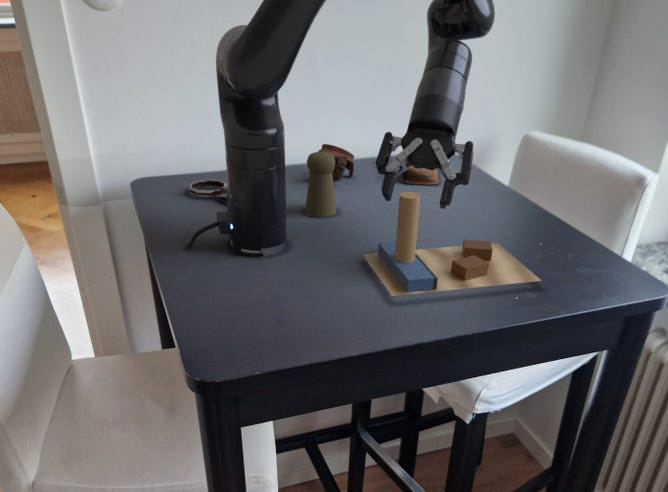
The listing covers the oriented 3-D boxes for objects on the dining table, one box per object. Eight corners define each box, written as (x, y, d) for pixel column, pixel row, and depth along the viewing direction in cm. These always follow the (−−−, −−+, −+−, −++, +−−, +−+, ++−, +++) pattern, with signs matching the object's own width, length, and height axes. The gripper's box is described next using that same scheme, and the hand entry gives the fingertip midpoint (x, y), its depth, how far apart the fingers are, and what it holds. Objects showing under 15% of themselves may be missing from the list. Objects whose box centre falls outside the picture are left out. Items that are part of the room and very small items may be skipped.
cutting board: (391, 305, 97) (391, 295, 97) (361, 262, 110) (361, 254, 109) (539, 289, 103) (541, 280, 103) (496, 250, 115) (497, 242, 115)
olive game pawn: (332, 218, 126) (333, 159, 120) (301, 215, 127) (300, 156, 121) (339, 207, 131) (340, 150, 125) (309, 204, 132) (309, 147, 126)
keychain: (252, 215, 126) (252, 205, 124) (180, 193, 135) (179, 183, 133) (279, 204, 131) (279, 194, 130) (208, 184, 140) (208, 174, 139)
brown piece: (299, 177, 147) (312, 141, 146) (336, 193, 151) (349, 158, 150) (320, 179, 136) (334, 140, 135) (359, 196, 141) (373, 158, 140)
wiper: (407, 292, 98) (413, 212, 91) (377, 253, 109) (381, 180, 102) (436, 289, 99) (445, 210, 92) (404, 251, 110) (410, 179, 104)
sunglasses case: (442, 183, 144) (428, 155, 141) (412, 198, 146) (398, 171, 143) (439, 159, 159) (427, 134, 156) (412, 173, 161) (400, 148, 158)
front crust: (464, 281, 102) (466, 268, 100) (450, 272, 104) (452, 260, 103) (487, 275, 103) (488, 263, 102) (472, 266, 106) (474, 255, 105)
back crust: (463, 259, 108) (464, 247, 107) (461, 251, 111) (463, 239, 110) (490, 261, 108) (492, 249, 107) (488, 252, 111) (490, 241, 110)
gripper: (389, 87, 103) (364, 184, 99) (483, 96, 99) (460, 197, 96) (396, 116, 110) (373, 207, 107) (484, 126, 106) (462, 220, 103)
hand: (414, 202), depth 101 cm, fingers open, 8 cm apart
